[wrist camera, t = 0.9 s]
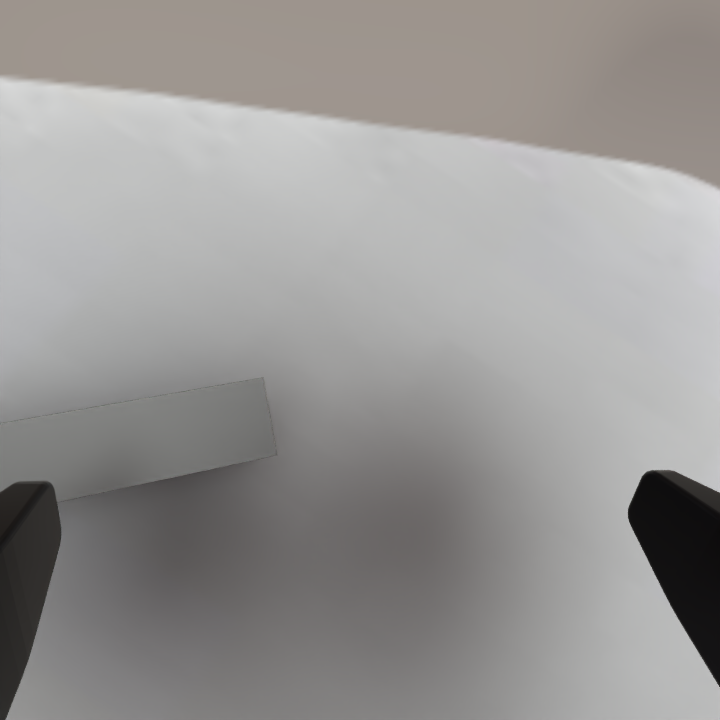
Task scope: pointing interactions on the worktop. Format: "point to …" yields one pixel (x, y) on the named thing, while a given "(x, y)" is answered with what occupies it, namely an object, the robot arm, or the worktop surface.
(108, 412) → the grey rectangular prism
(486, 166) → the worktop surface
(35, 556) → the robot arm
